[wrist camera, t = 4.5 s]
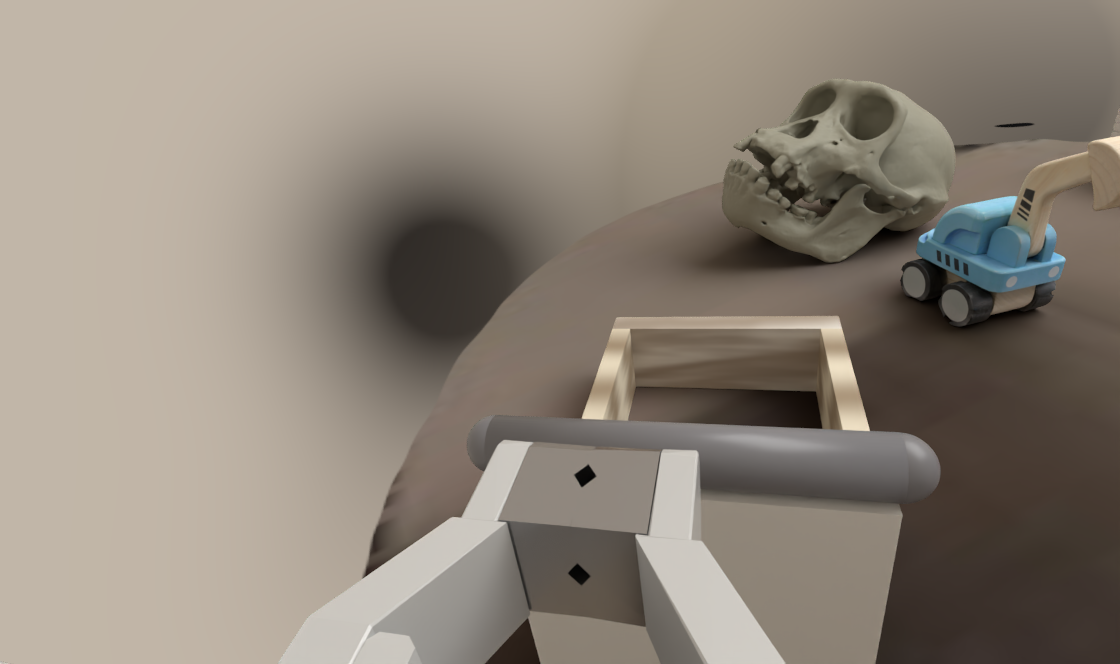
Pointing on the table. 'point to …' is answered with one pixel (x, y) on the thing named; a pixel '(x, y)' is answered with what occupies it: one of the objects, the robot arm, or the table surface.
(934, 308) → the table surface
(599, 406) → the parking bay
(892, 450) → the trolley
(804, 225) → the skull
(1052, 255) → the toy excavator
